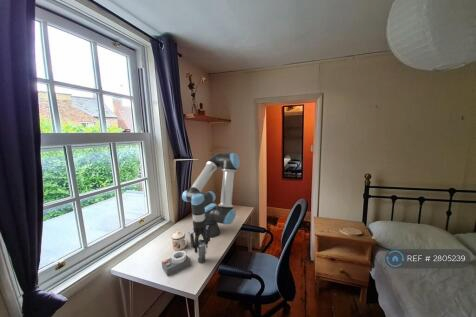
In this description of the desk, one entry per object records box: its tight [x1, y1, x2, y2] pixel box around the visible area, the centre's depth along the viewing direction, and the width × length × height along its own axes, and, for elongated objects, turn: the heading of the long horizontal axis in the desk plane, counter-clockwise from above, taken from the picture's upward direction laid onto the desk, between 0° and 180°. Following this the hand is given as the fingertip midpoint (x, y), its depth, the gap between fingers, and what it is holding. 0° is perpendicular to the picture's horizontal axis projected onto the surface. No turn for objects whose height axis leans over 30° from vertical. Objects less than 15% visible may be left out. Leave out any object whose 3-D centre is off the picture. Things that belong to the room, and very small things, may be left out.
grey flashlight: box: [197, 239, 207, 264], centre depth 120 cm, size 5×5×13 cm
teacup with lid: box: [171, 230, 189, 251], centre depth 135 cm, size 12×9×12 cm
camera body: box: [161, 250, 191, 277], centre depth 116 cm, size 14×9×6 cm, turn 129°
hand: (201, 254), depth 120 cm, fingers closed on grey flashlight, 4 cm apart
